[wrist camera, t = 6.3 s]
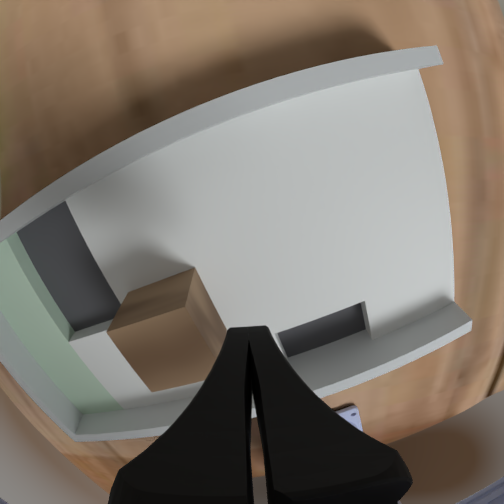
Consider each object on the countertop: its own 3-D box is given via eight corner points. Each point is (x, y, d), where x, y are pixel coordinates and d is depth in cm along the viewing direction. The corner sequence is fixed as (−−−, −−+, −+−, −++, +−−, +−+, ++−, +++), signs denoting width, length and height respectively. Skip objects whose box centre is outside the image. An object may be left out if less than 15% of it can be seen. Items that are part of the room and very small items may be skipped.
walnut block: (226, 329, 19) (225, 374, 15) (163, 348, 19) (151, 392, 16) (194, 267, 17) (184, 306, 13) (128, 292, 18) (106, 332, 14)
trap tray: (444, 301, 21) (471, 330, 17) (87, 410, 24) (75, 441, 20) (400, 56, 14) (437, 45, 11) (-26, 248, 17) (-56, 270, 14)
